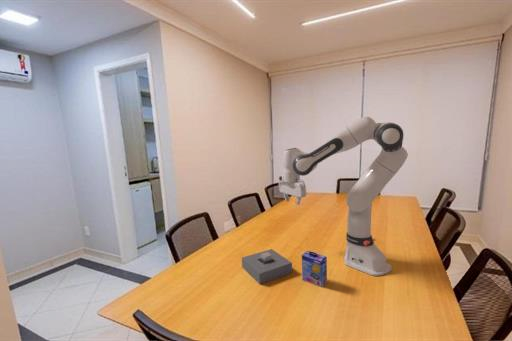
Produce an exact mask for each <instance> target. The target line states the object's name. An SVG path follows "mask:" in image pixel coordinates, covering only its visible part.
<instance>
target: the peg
mask: <svg viewBox="0 0 512 341" xmlns="http://www.w3.org/2000/svg"><path fill="white" fill-rule="evenodd" d="M260 256H261V263H262V264H268V263H271V262H272V255H271V254H270V253H268V252H265V253H262V254H260Z"/></svg>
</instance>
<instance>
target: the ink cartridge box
mask: <svg viewBox="0 0 512 341" xmlns="http://www.w3.org/2000/svg"><path fill="white" fill-rule="evenodd" d="M327 258H328V257H327V255H323V254H319V253H317V252H314V251H310V250H306V251H305V252H304V253H302V254H301V273H302V275H301V278H302V281H304V282H307V283H310V284H313V285H314V286H317V287H320V288H323V287H324V286H325V285H326V284H327V282H328V270H327V268H328V266H327V263H328V261H327Z"/></svg>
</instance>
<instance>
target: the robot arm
mask: <svg viewBox="0 0 512 341" xmlns="http://www.w3.org/2000/svg"><path fill="white" fill-rule="evenodd" d="M404 136H405V135H404V130H403V128H402V127H401V126H400V125H398V124H397V123H395V122H391V121H389V122H379V123H376V121H375V119H374V118H372V117H369V116H362V117H360V118H358V119H356V120H353V121H352V122H350V123H348V124H347V125H345V126H344V127H342V128H341V129H339V131H338V132H336V133H335V134H333V136H332V137H331V138H330V139H329V140H328V141H327V142H326V143H324V144H323V145H321V146H319V147H317V148H316V149H314V150H313V151H311V152H309V153H308V152H305V151H302V150H300V149H299V148H297V147H292V148H288V149H286V150H284V151H283V156H282V167H283V174H282V175H279V176H278V191H279V192H280V193H282V194H283V196H284V200H285V202H290V198H289V196H293V197H296V201H295V205H297V206H298V205H300V204H301V200H302V198H307V187H306V183H305V181H304V180H303V179H301V176H302V177H303V176H304V177H305V176H307V175H309V174H310V173H311V172H313V171H314V170H315V169H316V168H317V167H318V165H319V163H321V162H323V161H324V160H326V159H328V158H330V157H331V156H334V155H337V154H340V153H343V152H347V151H349V150H353V149H354V148H356V147H358V146H359V145H361V144H363V143H364V142H367V141H369V140H370V141H371V140H373V141H375V142H376V143H377V144H378V146H380V147H381V151H380V153H379V154H378V156H376V157H375V159H374V160H373V161H372V163H371V164H370V165H369V166H368V167H367V169H366V170H365V172H364V173H363V174H362V175H361V176H360V177H359V179H358V180H356V183H355V184H354V185H353V186H352V187H351V188H350V190H349V191H348V193H347V194H346V197H345V202H346V205H347V207H348V212H347V223H346V224H347V231H346V236H345V237H346V238H345V239H346V248H345V252H344V255H343V256H344V257H343V260H344V265H345V266H348V267H350V268H353V269H355V270H358V271H360V272H363V273H366V274H368V275H370V276H373V277H375V276H376V277H379V276H383V275H386V274H388V273H390V272H391V271H392V268H393V267H392V265H391V264H389V263H387V259H386V258H387V257H386V255H385V253H383V252H382V250H381V249H380V248H379V247H378V246H377V245H376V244H375V242H376V238H373V235H372V233H371V232H372V212H373V211H372V209H373V206H372V205H373V202H374V201H375V199H376V198H377V197H378V196H379V195H380V193H381V192H382V190H383V189H384V188H385V187H386V185H387V184H388V183H389V182H390V181H391V180H392V179H393V177H394V176H396V174H397V173H398V172H399V170H400V169H401V168H402V166H403V165H404V164H405V162H406V161H407V159H408V156H409V155H408V154H409V153H408V151H407V149H405V147H403V141H404ZM288 195H289V196H288Z"/></svg>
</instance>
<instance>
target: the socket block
mask: <svg viewBox="0 0 512 341" xmlns="http://www.w3.org/2000/svg"><path fill="white" fill-rule="evenodd" d="M265 252H268V253H270V254H271V255H272V262H271V263H268V264H262V263H261V256H260V254H262V253H265ZM241 267H242V268H243V269H244V271H245V272H247V273H248V275H249V276H251V277H252V279H254V280H255V282H256V283H258V284H259V285H262V284H264V283H267V282H270V281H273V280H276V279H278V278H281V277H283V276H284V277H285V276H286V275H289V274H293V262H292V261H291V260H288V259H287V258H286V257H284V256H283V255H281V254H280V253H278V252H276V251H275V250H274V249H272V248H270V249H267V250H264V251H260V252H257V253H253V254H250V255H245V256H243V257H241Z"/></svg>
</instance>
